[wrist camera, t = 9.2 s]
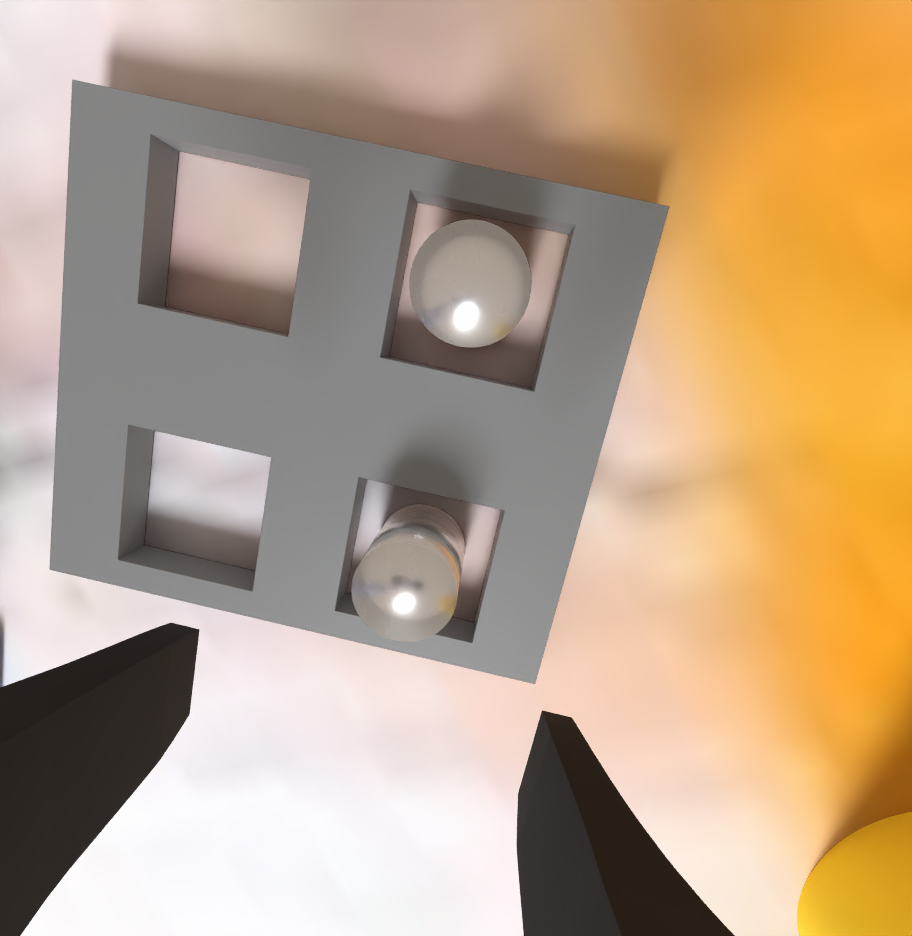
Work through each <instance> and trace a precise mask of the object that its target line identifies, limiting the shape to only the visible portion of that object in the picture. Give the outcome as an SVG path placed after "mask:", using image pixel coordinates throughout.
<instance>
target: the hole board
mask: <svg viewBox="0 0 912 936" xmlns="http://www.w3.org/2000/svg"><path fill="white" fill-rule="evenodd" d="M179 151H181V152H186V153H190V154H195V155H200V156H204V157H209V158H214V159H218V160H223V161H228V162H232V163H237V164H242V165H246V166H251V167H256V168H260V169H265V170H270V171H274V172H279V173H284V174H288V175H293V176H297V177H302V178H307V179H310V186H309V193H308V200H307V207H306V215H305V222H304V229H303V236H302V243H301V250H300V257H299V265H298V272H297V279H296V286H295V293H294V300H293V307H292V314H291V322H290V329H289V334H285V333H281V332H276V331H272V330H267V329H263V328H258V327H254V326H249V325H245V324H240V323H236V322H231V321H227V320H222V319H218V318H213V317H209V316H204V315H200V314H195V313H191V312H186V311H182V310H177V309H173V308H168V307H165V302H166V290H167V279H168V268H169V256H170V245H171V234H172V222H173V211H174V200H175V188H176V177H177V166H178V155H179ZM417 202H419V203H423V204H428V205H432V206H437V207H442V208H446V209H451V210H456V211H460V212H465V213H470V214H474V215H479V216H484V217H488V218H493V219H498V220H502V221H507V222H512V223H516V224H521V225H526V226H530V227H535V228H540V229H544V230H549V231H554V232H558V233H563V234H567V235H569V237H568V241H567V245H566V249H565V253H564V257H563V261H562V265H561V270H560V274H559V278H558V282H557V286H556V290H555V294H554V298H553V302H552V306H551V310H550V314H549V319H548V323H547V327H546V331H545V335H544V339H543V343H542V347H541V351H540V355H539V359H538V363H537V368H536V372H535V376H534V380H533V384H532V388H528V387H523V386H519V385H514V384H510V383H505V382H501V381H496V380H492V379H487V378H483V377H478V376H474V375H469V374H465V373H460V372H456V371H451V370H447V369H442V368H438V367H433V366H429V365H424V364H420V363H415V362H411V361H406V360H402V359H397V358H393V357H389V354H390V348H391V343H392V338H393V332H394V327H395V321H396V316H397V310H398V305H399V299H400V294H401V288H402V283H403V277H404V272H405V266H406V261H407V256H408V250H409V245H410V239H411V234H412V228H413V223H414V217H415V212H416V206H417ZM668 209H669V206H665V205H660V204H655V203H650V202H646V201H641V200H636V199H632V198H627V197H622V196H618V195H613V194H608V193H603V192H599V191H594V190H589V189H585V188H580V187H575V186H570V185H566V184H561V183H556V182H552V181H547V180H542V179H538V178H533V177H528V176H523V175H519V174H514V173H509V172H505V171H500V170H495V169H490V168H486V167H481V166H476V165H472V164H467V163H462V162H458V161H453V160H448V159H443V158H439V157H434V156H429V155H425V154H420V153H415V152H410V151H406V150H401V149H396V148H392V147H387V146H382V145H378V144H373V143H368V142H363V141H359V140H354V139H349V138H345V137H340V136H335V135H330V134H326V133H321V132H316V131H312V130H307V129H302V128H298V127H293V126H288V125H283V124H279V123H274V122H269V121H265V120H260V119H255V118H250V117H246V116H241V115H236V114H232V113H227V112H222V111H218V110H213V109H208V108H203V107H199V106H194V105H189V104H185V103H180V102H175V101H170V100H166V99H161V98H156V97H152V96H147V95H142V94H138V93H133V92H128V91H123V90H119V89H114V88H109V87H105V86H100V85H95V84H90V83H86V82H81V81H76V80H72V100H71V122H70V143H69V165H68V186H67V207H66V229H65V250H64V272H63V293H62V315H61V336H60V357H59V379H58V400H57V422H56V443H55V465H54V486H53V508H52V529H51V550H50V570H53V571H58V572H62V573H66V574H70V575H75V576H79V577H83V578H87V579H92V580H96V581H100V582H104V583H108V584H113V585H117V586H121V587H125V588H130V589H134V590H138V591H142V592H147V593H151V594H155V595H159V596H164V597H168V598H172V599H176V600H181V601H185V602H189V603H193V604H197V605H202V606H206V607H210V608H214V609H219V610H223V611H227V612H231V613H236V614H240V615H244V616H248V617H253V618H257V619H261V620H265V621H270V622H274V623H278V624H282V625H286V626H291V627H295V628H299V629H303V630H308V631H312V632H316V633H320V634H325V635H329V636H333V637H337V638H342V639H346V640H350V641H354V642H359V643H363V644H367V645H371V646H375V647H380V648H384V649H388V650H392V651H397V652H401V653H405V654H409V655H414V656H418V657H422V658H426V659H431V660H435V661H439V662H443V663H448V664H452V665H456V666H460V667H464V668H469V669H473V670H477V671H481V672H486V673H490V674H494V675H498V676H503V677H507V678H511V679H515V680H520V681H524V682H528V683H532V684H535V682H536V679H537V675H538V672H539V668H540V664H541V661H542V657H543V654H544V650H545V647H546V643H547V640H548V636H549V632H550V629H551V625H552V622H553V618H554V615H555V611H556V608H557V604H558V600H559V597H560V593H561V590H562V586H563V583H564V579H565V576H566V572H567V568H568V565H569V561H570V558H571V554H572V551H573V547H574V544H575V540H576V536H577V533H578V529H579V526H580V522H581V519H582V515H583V512H584V508H585V504H586V501H587V497H588V494H589V490H590V487H591V483H592V480H593V476H594V472H595V469H596V465H597V462H598V458H599V455H600V451H601V448H602V444H603V440H604V437H605V433H606V430H607V426H608V423H609V419H610V416H611V412H612V408H613V405H614V401H615V398H616V394H617V391H618V387H619V384H620V380H621V376H622V373H623V369H624V366H625V362H626V359H627V355H628V352H629V348H630V344H631V341H632V337H633V334H634V330H635V327H636V323H637V320H638V316H639V312H640V309H641V305H642V302H643V298H644V295H645V291H646V288H647V284H648V280H649V277H650V273H651V270H652V266H653V263H654V259H655V256H656V252H657V248H658V245H659V241H660V238H661V234H662V231H663V227H664V224H665V220H666V216H667V213H668ZM154 430H155V431H159V432H163V433H168V434H172V435H176V436H181V437H185V438H190V439H194V440H198V441H203V442H207V443H211V444H216V445H220V446H225V447H229V448H233V449H238V450H242V451H247V452H251V453H255V454H260V455H264V456H268V457H271V464H270V472H269V479H268V486H267V493H266V500H265V507H264V514H263V521H262V529H261V536H260V543H259V550H258V557H257V564H256V571H252V570H248V569H244V568H239V567H235V566H231V565H227V564H222V563H218V562H214V561H209V560H205V559H201V558H197V557H192V556H188V555H184V554H180V553H175V552H171V551H167V550H162V549H158V548H154V547H150V546H145V545H144V539H145V528H146V516H147V505H148V494H149V482H150V471H151V460H152V448H153V437H154ZM367 479H369V480H374V481H378V482H382V483H387V484H391V485H395V486H400V487H404V488H409V489H413V490H417V491H422V492H426V493H431V494H435V495H439V496H444V497H448V498H452V499H457V500H461V501H466V502H470V503H474V504H479V505H483V506H487V507H492V508H496V509H501V515H500V519H499V523H498V527H497V531H496V535H495V539H494V543H493V547H492V551H491V555H490V559H489V564H488V568H487V572H486V576H485V580H484V584H483V588H482V592H481V596H480V600H479V604H478V608H477V613H476V617H475V621H474V622H470V621H466V620H462V619H458V618H453V617H451V619H450V620H449V622H448V623H447V624H446V625H445V627H444V628H443V629H441V630H440V631H439V632H438V633H436V634H435V635H433V636H431V637H429V638H426V639H423V640H419V641H414V642H400V641H395V640H391V639H388V638H385V637H383V636H381V635H379V634H377V633H376V632H374V631H373V630H372V629H370V628H369V627H368V626H367V625H366V624H365V623H364V622H363V621H362V619H361V618H360V616H359V615H358V613H357V611H356V609H355V607H354V604H353V600H352V594H351V593H346V589H347V584H348V578H349V573H350V567H351V562H352V556H353V551H354V545H355V540H356V534H357V529H358V524H359V518H360V513H361V507H362V502H363V496H364V491H365V485H366V480H367Z"/></svg>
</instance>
